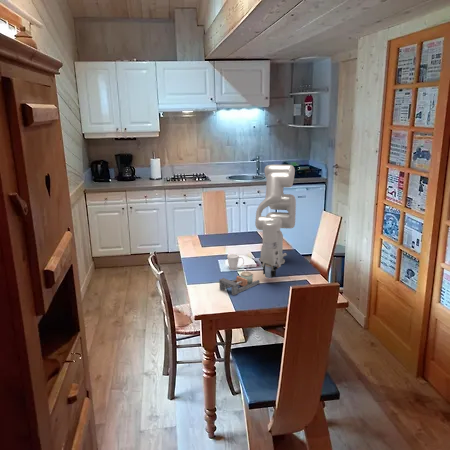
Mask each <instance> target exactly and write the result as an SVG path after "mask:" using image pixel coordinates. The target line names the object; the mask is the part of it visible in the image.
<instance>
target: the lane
mask: <svg viewBox="0 0 450 450" xmlns="http://www.w3.org/2000/svg"><path fill="white" fill-rule="evenodd" d="M259 284H260V279H257V280H255V281H254V280H253V282H252V283H250V284H247V285H245V286H241V287H239V284H238V283H237V282H236V279H234V280H230V279H227V278H225V277H222V278H220V279H219V290H220V291H224V290H226V289H227V288H229V286H231V287H230V288H231V295H232V296H236V295H238V294H239V293H242V292H244V291H246V290H248V289H251V288H253V287H255V286H257V285H259Z"/></svg>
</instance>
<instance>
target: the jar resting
mask: <svg viewBox="0 0 450 450" xmlns="http://www.w3.org/2000/svg"><path fill="white" fill-rule="evenodd" d="M240 277H241V278H244V279H247V284H250V283H252V282H254V279H253V277H254V275H253V273H252V272H251V271H243V272H241V273H240Z"/></svg>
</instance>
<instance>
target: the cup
mask: <svg viewBox="0 0 450 450" xmlns="http://www.w3.org/2000/svg"><path fill="white" fill-rule="evenodd" d="M226 258H227V261H228V262H227V263H228V264H227V265H228V267H229V269H230V270H231V271H234V270H238V269H239V268H241V267H242V266H244V264H245V260H244V258H243V257H242V256H240V255H239V254H237V253H229V254H227V256H226ZM239 259H242V261H243V263H242V264H241V265H239V266H238V264H239Z"/></svg>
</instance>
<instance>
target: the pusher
mask: <svg viewBox="0 0 450 450" xmlns="http://www.w3.org/2000/svg"><path fill="white" fill-rule="evenodd" d="M235 280H236V282H237V283H238V286H241V287H243V286H245V285H247V279H244V278H241V276H238V275H237V276H236V279H235ZM228 288H229V289H231V288H232V287H231V286H229V287H228Z"/></svg>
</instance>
